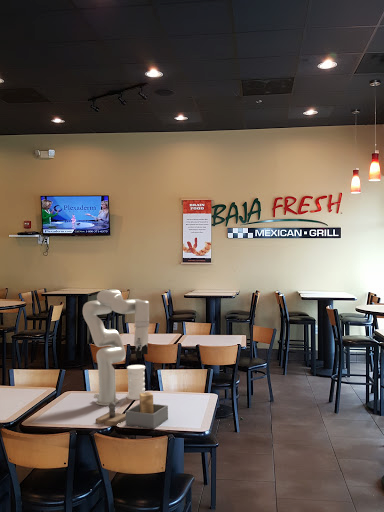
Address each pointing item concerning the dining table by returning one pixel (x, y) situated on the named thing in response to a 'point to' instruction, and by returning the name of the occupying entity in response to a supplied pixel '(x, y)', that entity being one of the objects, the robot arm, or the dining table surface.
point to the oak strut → (146, 403)
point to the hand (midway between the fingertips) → (141, 356)
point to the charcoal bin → (147, 416)
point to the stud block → (111, 416)
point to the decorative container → (135, 381)
